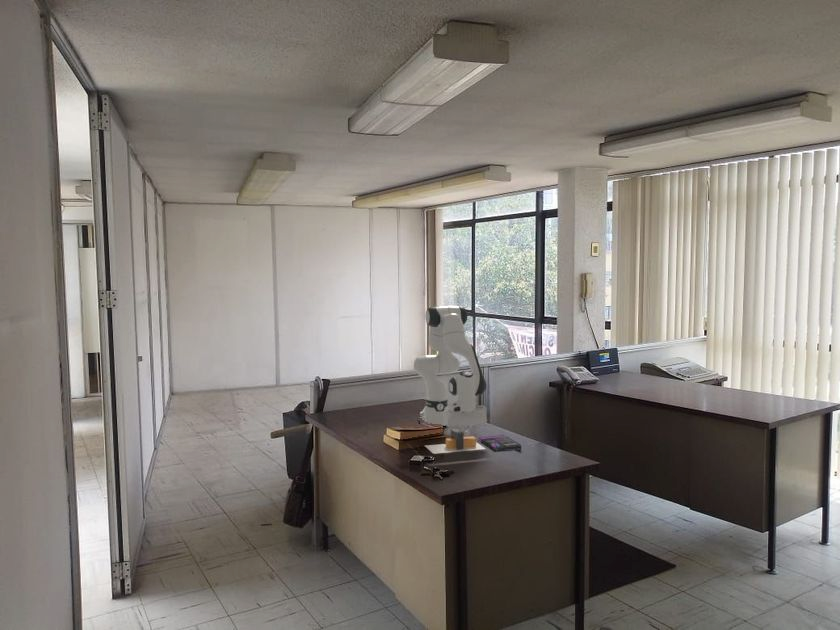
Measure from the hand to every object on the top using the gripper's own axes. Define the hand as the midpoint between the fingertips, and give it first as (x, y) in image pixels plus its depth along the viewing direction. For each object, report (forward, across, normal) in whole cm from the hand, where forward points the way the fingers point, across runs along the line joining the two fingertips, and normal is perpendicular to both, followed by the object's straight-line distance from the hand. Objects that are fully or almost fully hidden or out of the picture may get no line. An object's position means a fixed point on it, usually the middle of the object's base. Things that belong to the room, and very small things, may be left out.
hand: (466, 434), depth 293 cm
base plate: (+7, +6, 0) cm, 9 cm away
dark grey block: (+5, +5, 0) cm, 7 cm away
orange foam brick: (+6, +3, 0) cm, 6 cm away
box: (+7, -16, +2) cm, 18 cm away
